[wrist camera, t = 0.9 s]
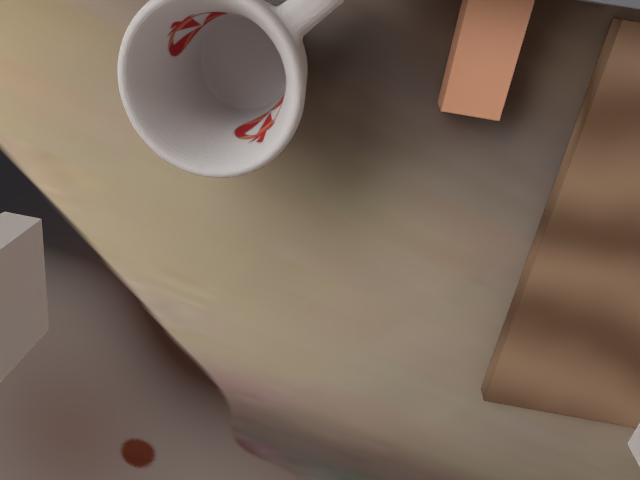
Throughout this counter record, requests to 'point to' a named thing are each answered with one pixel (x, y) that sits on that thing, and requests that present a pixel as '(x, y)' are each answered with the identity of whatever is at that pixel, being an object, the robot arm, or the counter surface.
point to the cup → (217, 79)
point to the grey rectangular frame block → (489, 54)
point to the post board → (584, 264)
